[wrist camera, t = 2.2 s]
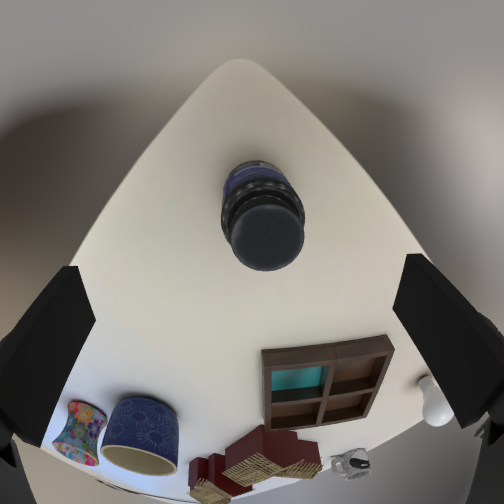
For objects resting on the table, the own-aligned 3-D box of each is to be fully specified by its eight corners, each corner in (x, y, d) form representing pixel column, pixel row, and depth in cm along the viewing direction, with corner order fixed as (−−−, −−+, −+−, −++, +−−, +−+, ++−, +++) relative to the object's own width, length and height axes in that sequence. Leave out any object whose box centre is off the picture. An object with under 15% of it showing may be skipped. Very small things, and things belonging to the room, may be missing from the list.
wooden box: (387, 334, 38) (395, 349, 36) (361, 404, 47) (366, 417, 44) (261, 350, 38) (263, 367, 35) (263, 418, 46) (265, 432, 43)
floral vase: (77, 392, 42) (60, 438, 33) (118, 417, 46) (107, 464, 36) (57, 407, 46) (42, 446, 36) (92, 429, 49) (81, 468, 40)
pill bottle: (211, 180, 28) (198, 223, 18) (268, 147, 27) (288, 172, 17) (245, 231, 30) (250, 295, 20) (298, 202, 29) (330, 254, 19)
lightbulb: (440, 373, 45) (464, 415, 36) (414, 392, 47) (435, 435, 37) (431, 362, 43) (457, 407, 33) (403, 383, 45) (425, 430, 35)
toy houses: (247, 421, 46) (250, 470, 37) (330, 438, 52) (340, 477, 43) (162, 479, 63) (160, 508, 54) (226, 492, 68) (227, 519, 59)
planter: (136, 427, 48) (127, 474, 38) (101, 391, 42) (84, 443, 32) (193, 425, 47) (190, 476, 37) (163, 386, 41) (152, 446, 31)
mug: (370, 447, 58) (376, 468, 52) (357, 458, 61) (363, 478, 55) (335, 450, 56) (340, 474, 50) (324, 461, 59) (328, 483, 53)
